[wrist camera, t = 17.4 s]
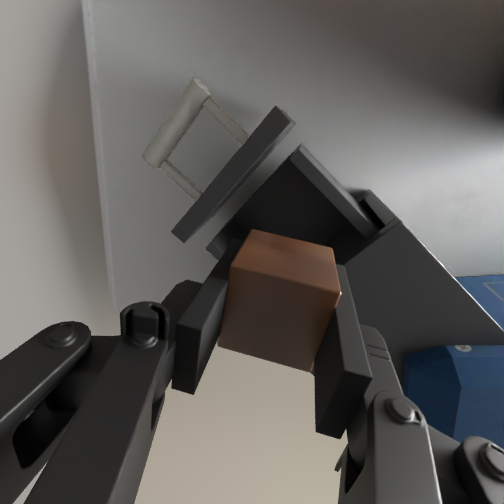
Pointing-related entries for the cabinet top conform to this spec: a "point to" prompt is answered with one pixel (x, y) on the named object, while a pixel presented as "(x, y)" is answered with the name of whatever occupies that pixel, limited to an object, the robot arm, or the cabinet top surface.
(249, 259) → the block
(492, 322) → the cabinet
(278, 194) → the drawer
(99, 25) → the cabinet top surface
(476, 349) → the radio
